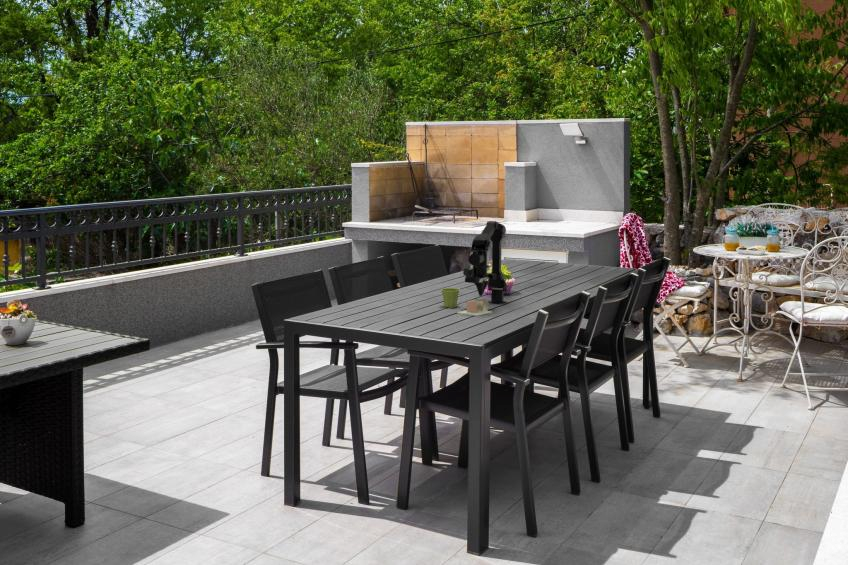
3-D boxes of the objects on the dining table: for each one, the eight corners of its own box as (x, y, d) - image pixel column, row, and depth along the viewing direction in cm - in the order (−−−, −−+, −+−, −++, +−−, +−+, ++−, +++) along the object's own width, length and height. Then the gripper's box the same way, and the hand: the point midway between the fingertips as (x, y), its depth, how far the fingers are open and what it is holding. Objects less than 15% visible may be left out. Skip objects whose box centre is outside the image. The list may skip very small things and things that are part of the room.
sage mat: (471, 309, 458) (471, 308, 458) (492, 312, 450) (492, 311, 450) (456, 313, 449) (456, 312, 449) (477, 315, 441) (477, 314, 441)
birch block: (479, 298, 456) (466, 301, 448) (487, 299, 453) (475, 302, 445) (479, 309, 457) (466, 311, 449) (487, 310, 453) (475, 313, 446)
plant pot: (444, 308, 460) (444, 291, 459) (438, 305, 469) (438, 288, 468) (462, 308, 463) (462, 290, 461) (456, 304, 472) (456, 287, 470)
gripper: (478, 260, 462) (478, 291, 464) (455, 263, 448) (455, 296, 450) (497, 262, 455) (497, 294, 457) (474, 265, 441) (474, 298, 443)
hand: (480, 295), depth 452 cm, fingers closed
